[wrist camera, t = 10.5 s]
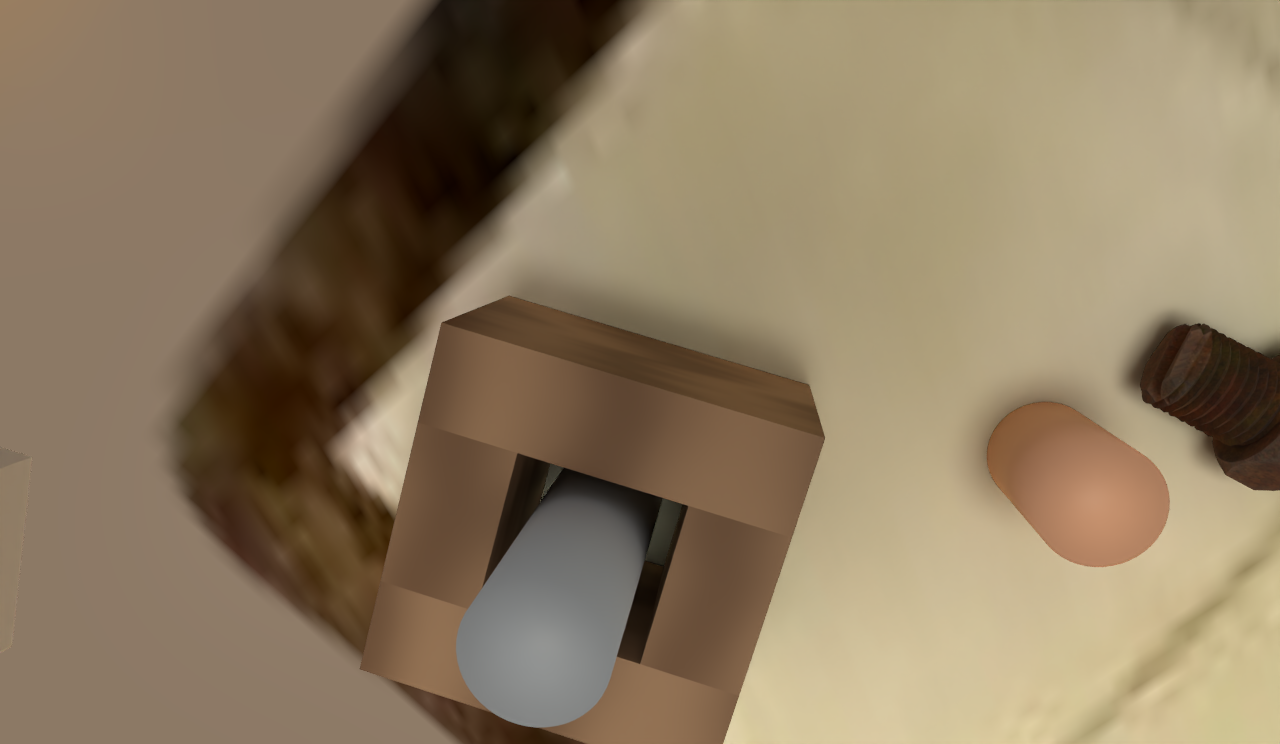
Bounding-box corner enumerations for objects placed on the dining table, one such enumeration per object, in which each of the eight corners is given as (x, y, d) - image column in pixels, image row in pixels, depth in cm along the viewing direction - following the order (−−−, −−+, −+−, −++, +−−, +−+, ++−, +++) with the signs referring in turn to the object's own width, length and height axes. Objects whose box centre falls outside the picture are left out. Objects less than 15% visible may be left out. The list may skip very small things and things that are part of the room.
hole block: (809, 385, 35) (825, 438, 28) (718, 662, 38) (709, 783, 30) (509, 295, 36) (441, 322, 28) (439, 573, 39) (359, 669, 31)
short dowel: (1115, 420, 34) (1190, 465, 28) (1075, 518, 35) (1140, 582, 29) (1008, 388, 35) (1060, 427, 29) (971, 487, 35) (1014, 544, 30)
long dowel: (676, 450, 36) (631, 607, 23) (649, 543, 37) (589, 747, 24) (579, 421, 37) (476, 559, 23) (554, 514, 38) (440, 699, 24)
